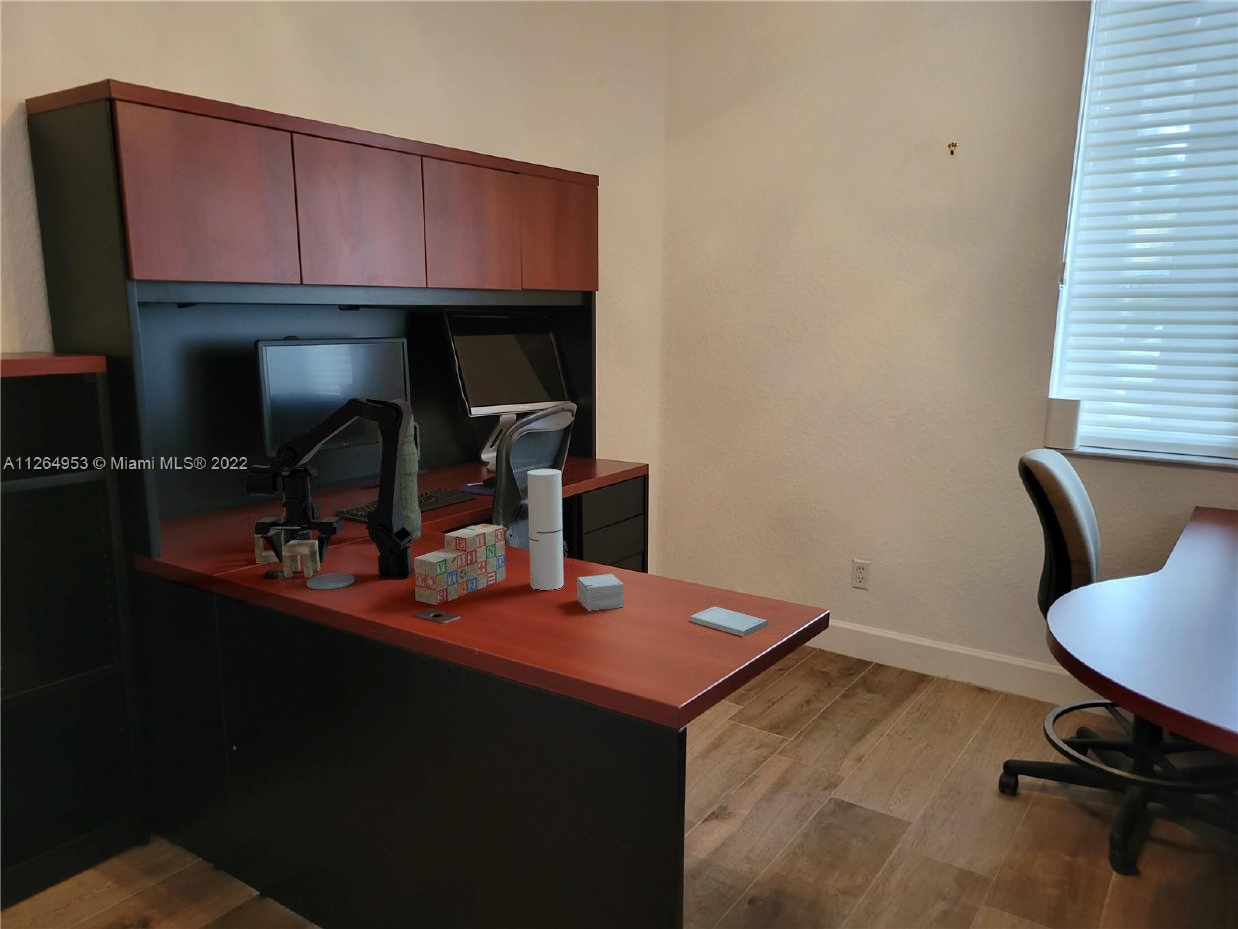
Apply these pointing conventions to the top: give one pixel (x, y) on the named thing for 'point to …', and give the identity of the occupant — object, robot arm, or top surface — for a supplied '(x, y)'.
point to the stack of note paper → (600, 592)
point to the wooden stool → (292, 557)
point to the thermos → (409, 480)
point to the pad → (330, 581)
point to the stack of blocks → (461, 564)
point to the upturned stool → (264, 555)
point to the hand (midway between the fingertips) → (301, 562)
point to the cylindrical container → (545, 529)
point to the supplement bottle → (295, 534)
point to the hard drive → (729, 621)
